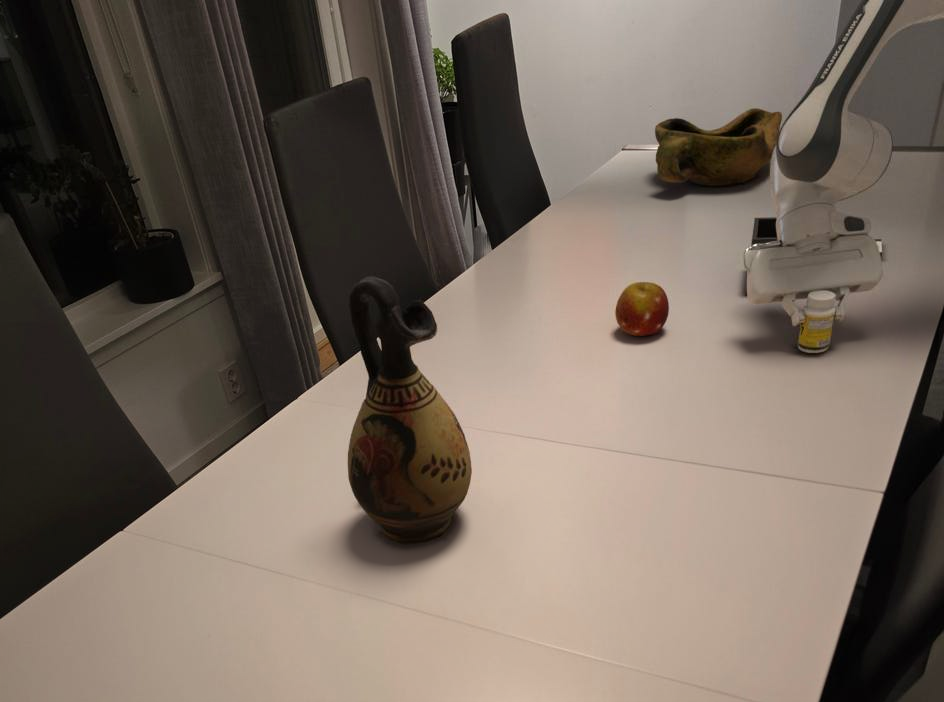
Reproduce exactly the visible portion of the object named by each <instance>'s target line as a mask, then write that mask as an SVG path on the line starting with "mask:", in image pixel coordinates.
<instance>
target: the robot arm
mask: <svg viewBox="0 0 944 702" xmlns="http://www.w3.org/2000/svg"><path fill="white" fill-rule="evenodd" d="M941 19H944V0H860V1H859V3H858V5H857V7H856V8H855V9H854V11H853V12H852V15H851V16H850V17H849V20H848V21H847V23H846V25H845V26H844V28H843V30H842V31H841V32H840V35H839V37H838V38H837V40H836V42H835V43H834V45H833V47H832V49H831V50H830V52H829V54H828V55H827V57H826V59H825V60H824V62H823V64H822V66H821V67H820V68H819V70H818V73H816V76H815V77H814V79H813V81H812V83H810V86H809V87H808V89H807V90H806V91H805V93H804V95H803V96H802V97H801V99H800V100H799V101H798V102H797V104H796V105H795V106H794V108H793V109H792V110H791V111H790V113H789V114H788V116H787V117H786V118H785V120H784V121H783V123H782V125H781V126H780V130H779V134H778V138H777V143H776V146H775V148H774V150H773V153H772V157H771V160H770V164H769V181H770V183H769V184H770V192H771V202H772V205H773V207H774V210H775V212H776V217H777V220H776V232H777V239H778V241H772V242H767V243H756V244H753V245H751V244H750V246H749V247H747V248H746V249H745V251H743V254H742V260H743V267H744V269H745V270H746V271H747V272H746V285H747V295H746V296H747V300H748V301H749V302H750V303H751V304H752V305H762V304H770V303H779V302H781V305H782V306H781V307H782V309H783V310H784V311H785V312H786V313H787V314H788V316H789V317H790V318H791V324H792V327H799V326H800V327H801V325H803V323H805V320H806V319H805V316H804V315H805V311H804V309H803V310H799V308H798V307H797V306H796V304H795V301H796V300H804V299H807V298H808V294H809V293H810V292H813V291H818V290H825V291H831V292H833V293H834V294H835V302H836V301H837V302H838V303H837V305H836V306H834V307H835V315H834V320H833V322H840V321H843V320H844V319H845V317H846V312H845V306H846V303H847V301H848V299H849V297H850V295H851V294H854V293H863V292H870V291H873V289H874V288H875V287H876V286H877V285H878V284H879V283H880V282H881V280H882V278H883V276H884V268H883V261H882V257H881V256H880V252H879V248H878V245H877V243H876V241H875V240H874V239H875V238H874V237H872V236H871V235H869V234H870V232H871V231H872V222H871V220H870V218H867V217H862V216H857V215H853V214H852V215H851V214H848V213H843V212H839V211H836V204H837V203H838V202H840V201H845V200H847V199H849V198H852V197H854V196H857V195H858V194H860V193H863V192H865V191H866V190H869V189H870V188H871V187H873V186H874V185H875V184H876V183H877V182H879V180H880V179H881V178H882V176H883V175H884V174H885V173H886V171H887V169H888V167H889V165H890V163H891V159H892V155H893V148H894V142H893V136H892V133H891V131H890V129H889V128H888V127H887V126H885V125H883V124H882V123H880V122H878V121H875V120H873V119H871V118H868V117H866V116H863V115H859V114H856V113H854V112H851V111H849V105H850V102H851V100H852V99H853V97H854V95H855V94H856V92H857V90H858V89H859V87H860V85H861V83H862V82H863V81H864V79H865V77H866V76H867V74H868V72H869V70H870V69H871V67H872V66H873V64H874V63H875V61H876V59H877V58H878V56H879V54H880V53H881V51H882V50H883V48H884V46H885V45H886V44H887V43H888V41H889V40H890V39H891V38H893V37H894V36H895V35H896V34H898V33H899V32H901V30H903V29H906V28H907V27H910V26H913V25H916V24H923V23H929V22H934V21H938V20H941Z"/></svg>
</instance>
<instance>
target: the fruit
mask: <svg viewBox="0 0 944 702" xmlns="http://www.w3.org/2000/svg"><path fill="white" fill-rule="evenodd" d="M669 303H670V302H669V298H668V295H667V293H666V291H665V290H664V289H663V288H662V286H660V285H659V284H657V283H654V282H649V281H636V282H633V283H630V284H629V285H627V287H625V288H624V289H623V290H622V293H621V294H619V297H618V299H617V301H616V305H615V310H614V311H615V312H614V313H615V314H614V316H615V321H616V323H617V325H618V327H619V328H620V329H621V330H622V331H623V332H625V333H626V334H628V335H631V336H637V337H642V336H643V337H645V336H651V335H654V334H657V333H659V331H660V330H662V329H663V327H665V325H666V323H667V321H668V317H669V312H670V304H669Z"/></svg>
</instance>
